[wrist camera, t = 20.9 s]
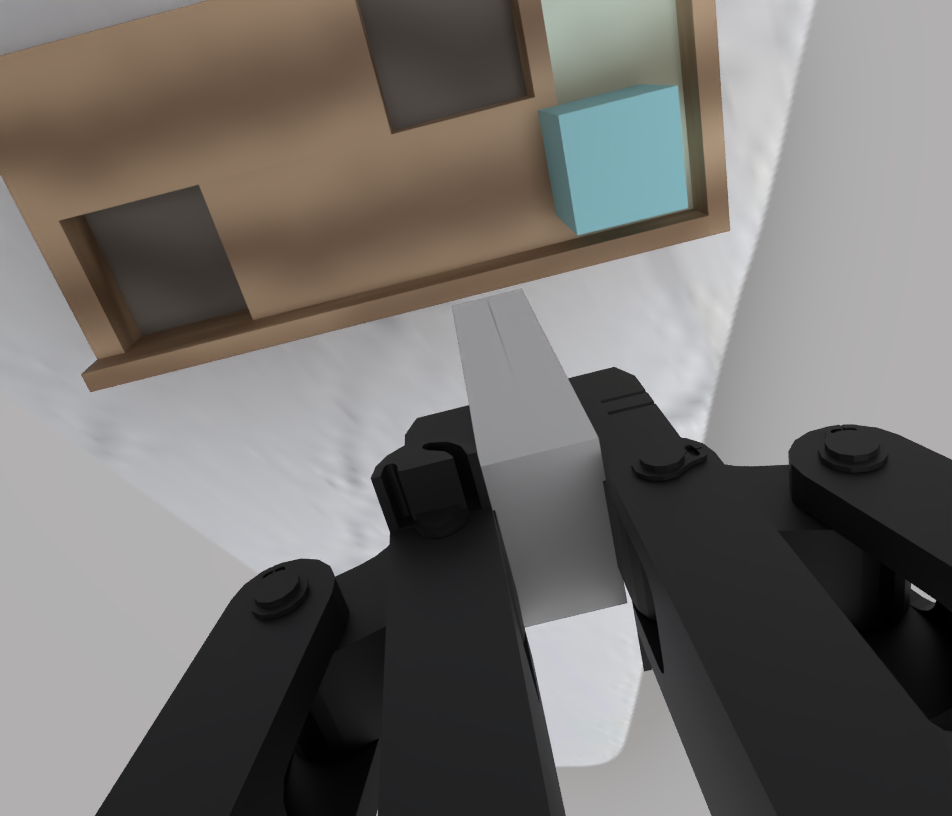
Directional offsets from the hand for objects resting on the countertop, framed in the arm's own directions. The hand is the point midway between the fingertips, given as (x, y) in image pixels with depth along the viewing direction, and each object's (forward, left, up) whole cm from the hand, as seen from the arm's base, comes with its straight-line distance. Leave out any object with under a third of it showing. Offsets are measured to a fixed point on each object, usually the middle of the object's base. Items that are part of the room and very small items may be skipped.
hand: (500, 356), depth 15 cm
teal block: (0, +8, -21) cm, 23 cm away
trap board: (-4, -4, -24) cm, 25 cm away
